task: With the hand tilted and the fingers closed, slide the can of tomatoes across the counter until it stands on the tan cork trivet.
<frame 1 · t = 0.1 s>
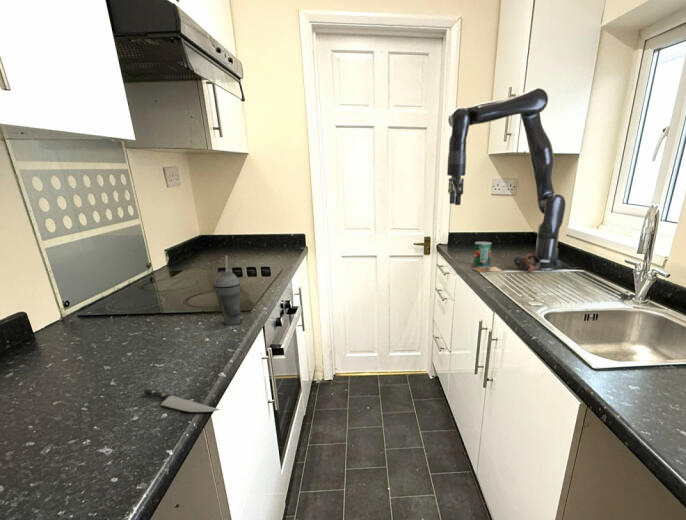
hand: (454, 204, 176), 29 cm above the counter, tool pointing down, fingers open, 8 cm apart
beverage cup: (232, 322, 124), on the counter
chef's knife: (176, 405, 79), on the counter
canned tomato: (481, 266, 199), on the counter, touching trivet
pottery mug: (525, 270, 190), on the counter
trivet: (487, 269, 192), on the counter
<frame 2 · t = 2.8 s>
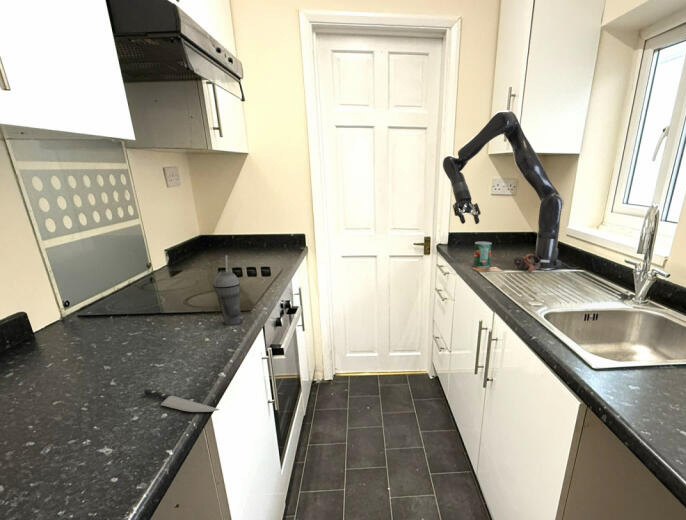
hand: (470, 223, 198), 19 cm above the counter, tool tilted 35°, fingers open, 8 cm apart
nothing on the counter moved.
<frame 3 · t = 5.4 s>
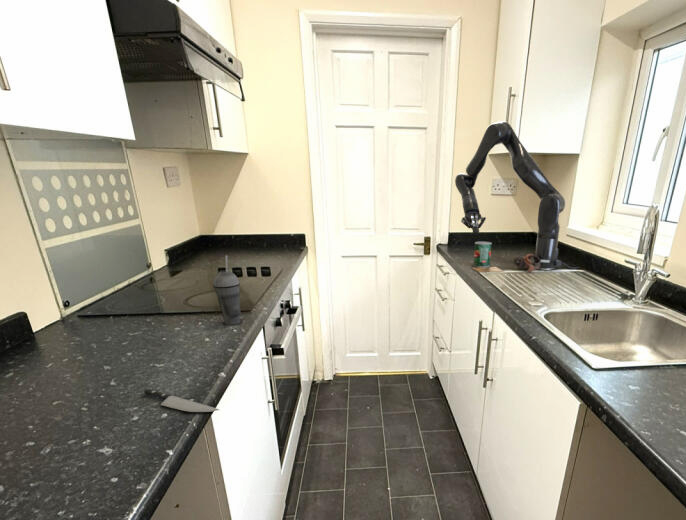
hand: (476, 234, 203), 14 cm above the counter, tool tilted 45°, fingers closed
nothing on the counter moved.
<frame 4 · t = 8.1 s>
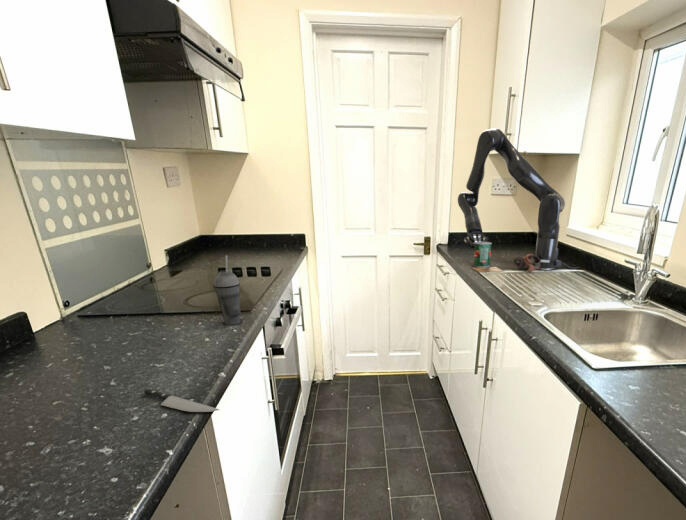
hand: (479, 254, 201), 5 cm above the counter, tool tilted 45°, fingers closed
canned tomato: (481, 266, 199), on the counter, touching gripper
everything else where it was.
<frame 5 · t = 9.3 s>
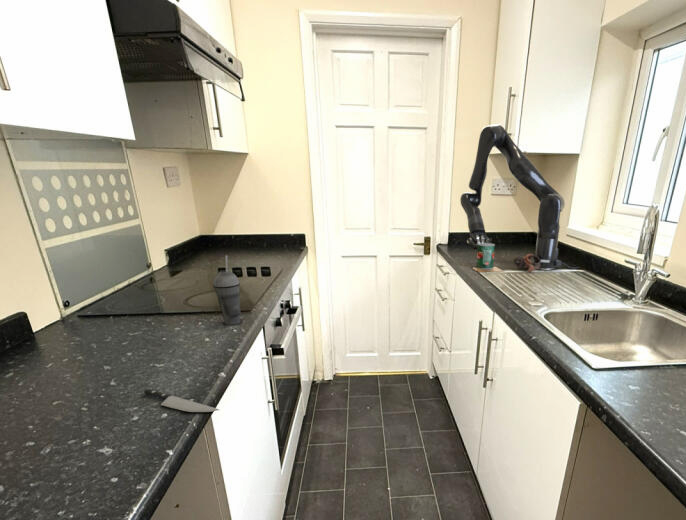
hand: (482, 255, 197), 5 cm above the counter, tool tilted 45°, fingers closed
canned tomato: (484, 268, 195), on the counter, touching gripper, trivet
everything else where it was.
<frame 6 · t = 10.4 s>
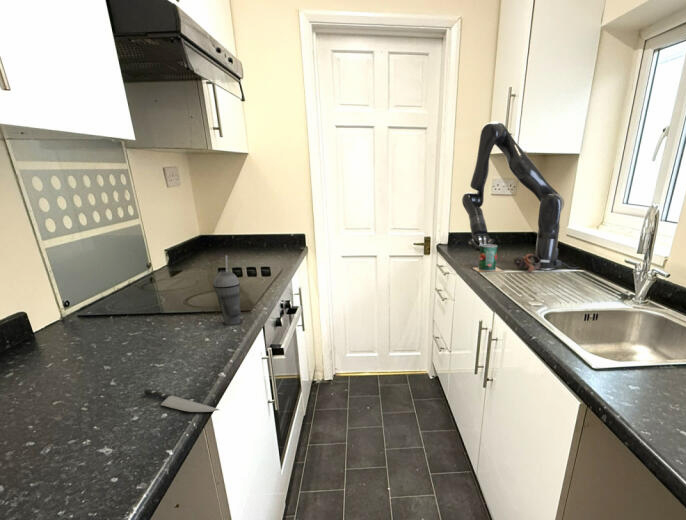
hand: (484, 257, 194), 5 cm above the counter, tool tilted 45°, fingers closed
canned tomato: (487, 269, 192), resting on trivet, touching gripper
everything else where it was.
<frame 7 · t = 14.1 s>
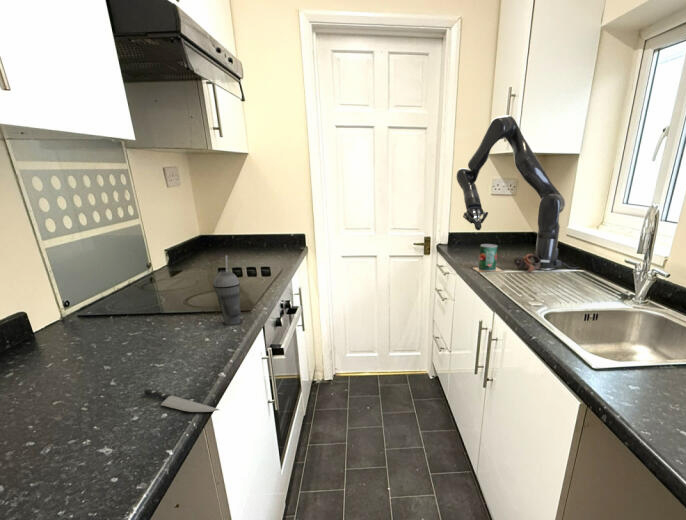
hand: (478, 229, 200), 16 cm above the counter, tool tilted 45°, fingers closed
canned tomato: (487, 269, 192), resting on trivet
everything else where it was.
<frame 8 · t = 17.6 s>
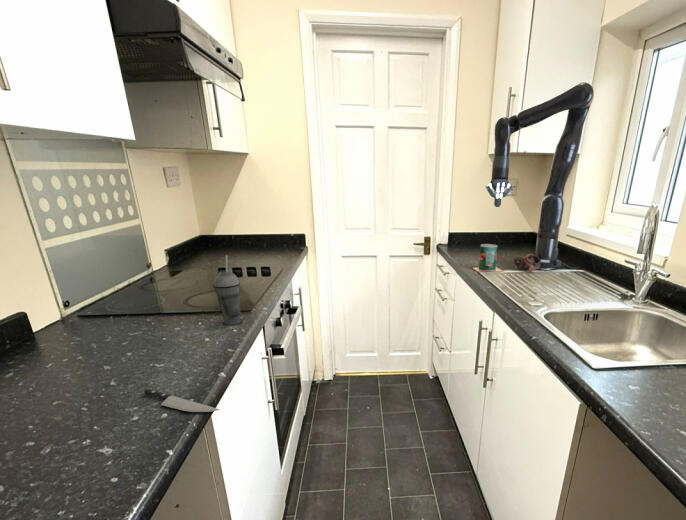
hand: (497, 206, 193), 27 cm above the counter, tool pointing down, fingers closed
nothing on the counter moved.
at the end: canned tomato inside the target area (0.2 cm from its centre), resting on trivet; canned tomato tilted 0°; canned tomato moved 8.0 cm from its start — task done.
